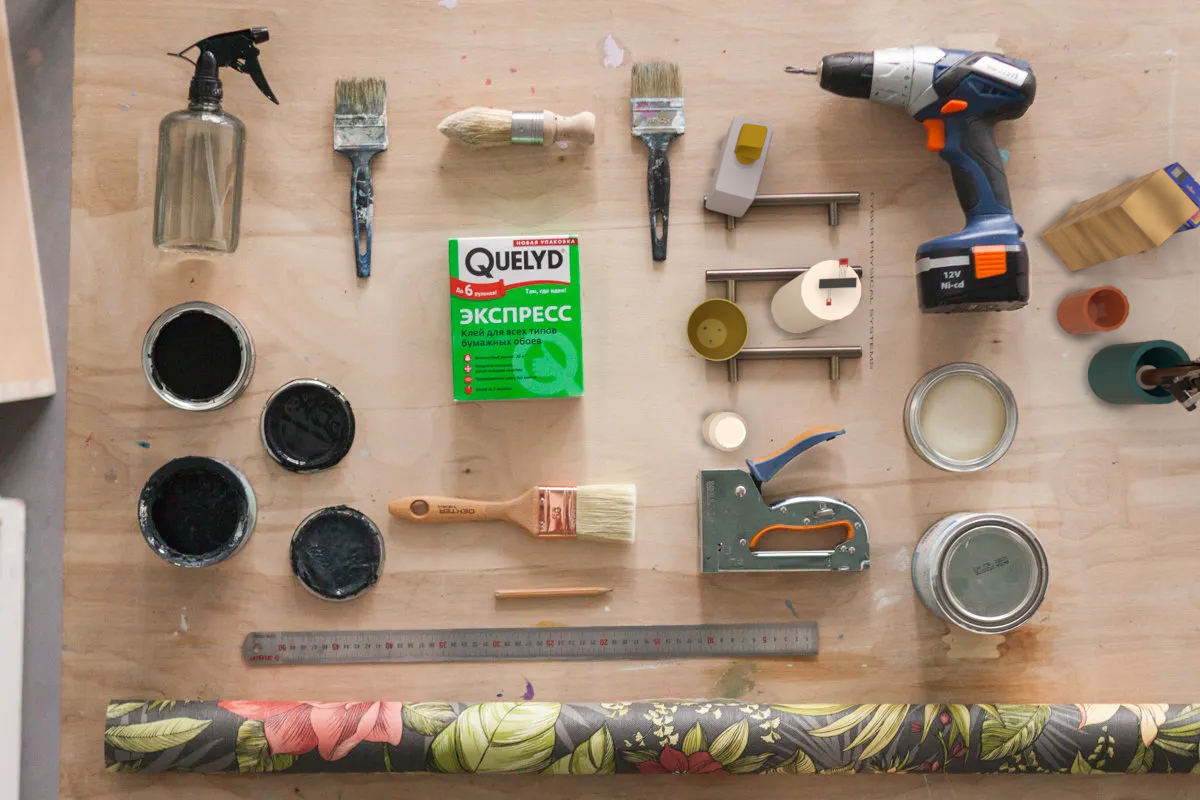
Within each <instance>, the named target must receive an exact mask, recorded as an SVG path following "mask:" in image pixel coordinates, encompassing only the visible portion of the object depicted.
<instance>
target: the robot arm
mask: <svg viewBox="0 0 1200 800" xmlns="http://www.w3.org/2000/svg"><path fill="white" fill-rule="evenodd" d="M1187 366H1198V367H1200V356H1199V357H1197V358H1195V359H1194V360H1192V359H1191V361H1185V362H1178V363H1177V364H1176V365H1175V367H1187ZM1159 381H1160V382H1161V383H1160V384H1161V385H1162V386H1163V388H1164V389H1165V390H1166V391H1169V392H1170V393H1171V394H1172V395H1173V396H1174V397H1175V399H1176V401H1177V402H1178V403H1179V404H1180V405H1181V406H1182V407H1183V408H1184V409H1185V410H1186V411H1187V412H1188V413H1190V412H1193V411H1195V410H1196V409H1197V408H1198V405H1196V404H1198V401H1200V370H1194V371H1189V372H1188V373H1187V374H1186V375H1181V376H1163V377H1162V378H1161V379H1160V380H1159Z"/></svg>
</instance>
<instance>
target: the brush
mask: <svg viewBox="0 0 1200 800" xmlns="http://www.w3.org/2000/svg"><path fill="white" fill-rule="evenodd" d="M1194 370H1200V367H1198V366H1187V367H1172V368H1157V369H1156V368H1155V367H1153V366H1150V365H1137V366H1136V369H1135V374H1136V380H1137V382H1138V384H1139V386H1140V387H1141V388H1142V389H1143V390H1147V389H1153V388H1155V387H1156V386H1157V385H1161V384H1160V383H1161V382H1160V381H1159V380H1160V379H1161V378H1162V377H1163V376H1181V375H1186V374H1187V373H1188V372H1189V371H1194Z"/></svg>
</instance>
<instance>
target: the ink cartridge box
mask: <svg viewBox="0 0 1200 800" xmlns="http://www.w3.org/2000/svg"><path fill="white" fill-rule="evenodd" d="M1161 168H1162V169H1163V170H1164V171H1165V172H1166V173H1167V174H1168V175H1169V176H1170V178H1171V179H1172V180H1173V181H1174V182H1175V183H1176V184H1177V185H1178V186H1179V187H1180V188H1181V190H1182V191H1183V192H1184V193H1185V194H1186V195H1187V196H1188V197H1189V198H1190V199H1191V200H1192V202H1193V203H1194V204H1195V205H1196V206H1197V207H1198V208H1199V210H1198V211H1197V212H1196V213H1195V214H1194V215H1193V216H1192V217H1191V218H1190V219H1188V220H1187V221H1186V222H1185V223H1184V224H1183V225H1182V226H1181V227H1180V228H1178V229H1177V230H1176V231H1175V232H1174V233H1173V234H1172V235H1174V234H1178V233H1182V232H1186V231H1191V230H1194V229H1195V230H1196V229H1197V228H1198V227H1199V226H1200V183H1198V182H1197V181H1196V180H1195V178H1194V177H1193V176H1192V174H1190V173H1189V172H1188V171H1187V170H1186V169H1185V168H1184V167H1183V165H1181V164H1180V163H1179V162H1178V161H1176V162H1173V163H1172V164H1169V165H1166V166H1164V167H1161Z"/></svg>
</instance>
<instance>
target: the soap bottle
mask: <svg viewBox="0 0 1200 800" xmlns="http://www.w3.org/2000/svg"><path fill="white" fill-rule="evenodd" d="M773 134H774V126H773V125H771V124H766V123H763V122H759V121H755V120H752V119H748V118H744V117H741V116H734V117H733V119H732V120H731V122H730V125H729V127H728V128H727V131H726V134H725V136H724V138H723V140H722V143H721V147H720V150H719V154H718V157H717V161H716V164H715V168H714V170H713V171H714V172H713V176H712V179H711V183H710V186H709V191H708V194H707V197H706V201H705V208H706V209H707V210H709V211H714V212H716V213H721V214H724V215H728V216H732V217H735V218H742V217H743V216H744V215H745V213H746V212H747V211H748V209H749V208H750V206H751V205H752V203H753V202H754V200H755V199H756V197H757V193H758V189H759V186H760V182H761V178H762V175H763V171H764V167H765V163H766V161H767V156H768V153H769V149H770V145H771V141H772V138H773Z"/></svg>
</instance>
